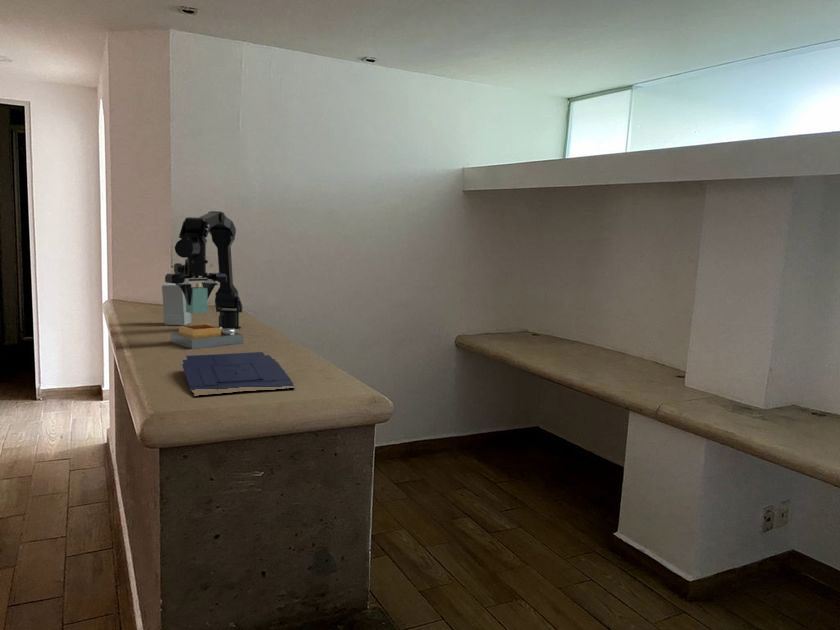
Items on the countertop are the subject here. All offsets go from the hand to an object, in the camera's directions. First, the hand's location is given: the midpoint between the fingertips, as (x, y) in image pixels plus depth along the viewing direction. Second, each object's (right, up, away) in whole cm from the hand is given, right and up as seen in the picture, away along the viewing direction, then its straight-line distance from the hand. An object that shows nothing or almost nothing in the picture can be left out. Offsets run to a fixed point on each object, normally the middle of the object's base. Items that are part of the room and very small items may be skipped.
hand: (196, 304), depth 213 cm
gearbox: (+2, -13, +3) cm, 13 cm away
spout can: (0, -3, 0) cm, 2 cm away
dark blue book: (+25, -21, -45) cm, 56 cm away
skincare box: (-20, -7, +38) cm, 43 cm away
